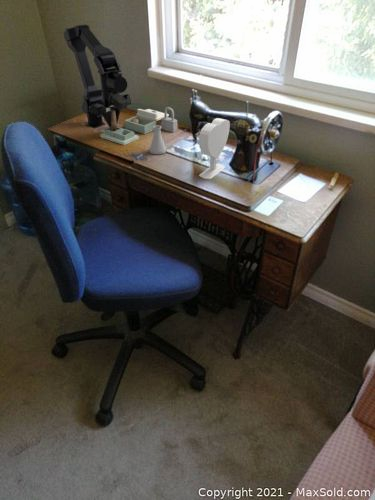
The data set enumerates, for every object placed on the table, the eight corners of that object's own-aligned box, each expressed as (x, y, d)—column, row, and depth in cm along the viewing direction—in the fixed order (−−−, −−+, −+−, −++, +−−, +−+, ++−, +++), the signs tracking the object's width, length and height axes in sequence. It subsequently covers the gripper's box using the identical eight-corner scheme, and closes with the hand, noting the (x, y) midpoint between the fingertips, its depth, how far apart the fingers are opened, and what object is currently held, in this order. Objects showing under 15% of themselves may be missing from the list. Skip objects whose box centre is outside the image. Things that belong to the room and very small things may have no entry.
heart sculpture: (216, 161, 143) (219, 114, 132) (228, 164, 141) (232, 117, 130) (195, 177, 133) (197, 127, 122) (208, 181, 131) (210, 130, 120)
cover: (136, 115, 172) (135, 109, 171) (148, 110, 178) (148, 104, 176) (156, 121, 167) (156, 114, 165) (168, 116, 172) (168, 109, 170)
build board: (100, 137, 161) (99, 129, 159) (115, 131, 167) (114, 123, 165) (124, 145, 155) (123, 137, 153) (138, 138, 160) (138, 131, 158)
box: (125, 128, 170) (124, 120, 167) (137, 123, 175) (136, 115, 172) (144, 134, 164) (144, 126, 162) (156, 129, 169) (156, 121, 167)
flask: (168, 148, 153) (167, 123, 147) (165, 155, 147) (165, 130, 141) (150, 147, 153) (149, 123, 147) (147, 154, 148) (146, 129, 142)
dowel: (108, 130, 160) (105, 111, 155) (113, 128, 162) (111, 109, 157) (113, 131, 159) (111, 112, 154) (118, 129, 161) (116, 110, 156)
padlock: (178, 130, 168) (178, 107, 162) (172, 133, 166) (172, 110, 160) (166, 126, 172) (165, 104, 165) (160, 129, 169) (159, 106, 163)
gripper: (105, 96, 140) (110, 136, 150) (139, 85, 152) (141, 123, 162) (85, 90, 145) (91, 130, 155) (119, 80, 157) (123, 117, 167)
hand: (113, 125), depth 159 cm, fingers closed on dowel, 3 cm apart
